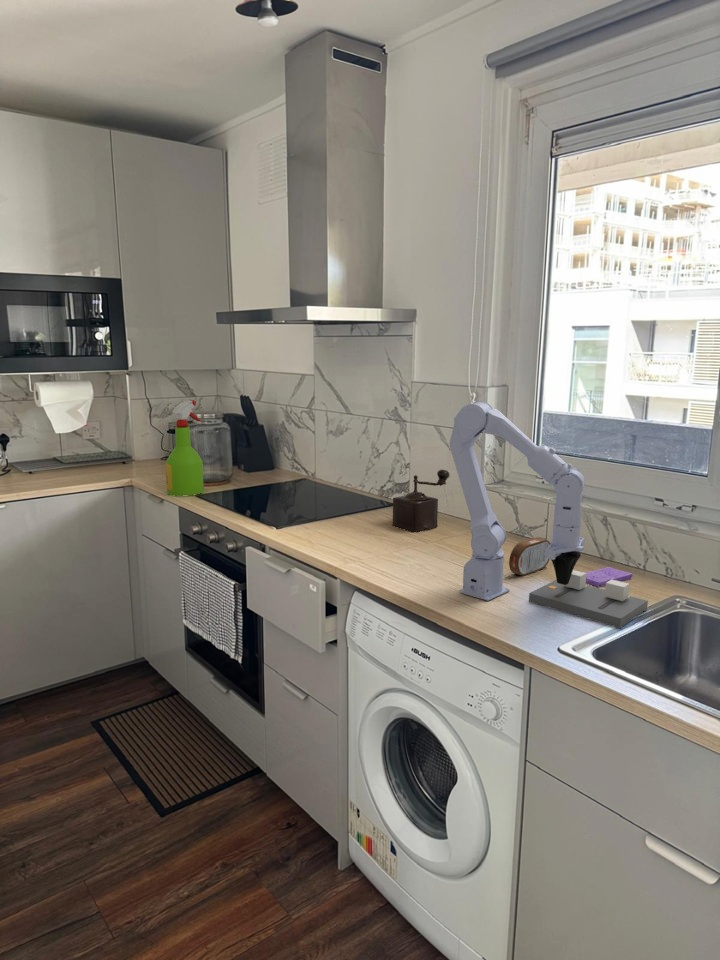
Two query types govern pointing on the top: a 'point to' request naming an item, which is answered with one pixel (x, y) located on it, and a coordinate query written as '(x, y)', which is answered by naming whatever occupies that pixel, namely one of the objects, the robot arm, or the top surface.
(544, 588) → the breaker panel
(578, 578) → the off-white cube
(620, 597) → the block
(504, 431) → the robot arm
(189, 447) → the spray bottle
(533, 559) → the tin
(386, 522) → the top surface
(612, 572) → the sponges
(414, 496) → the manual coffee grinder
